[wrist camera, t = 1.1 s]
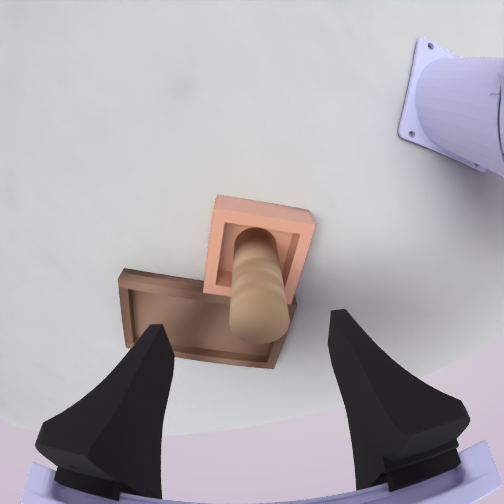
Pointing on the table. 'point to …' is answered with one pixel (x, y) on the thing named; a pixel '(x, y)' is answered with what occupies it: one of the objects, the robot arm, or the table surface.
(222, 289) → the open box
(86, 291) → the table surface
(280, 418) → the table surface
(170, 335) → the tray
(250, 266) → the dowel
